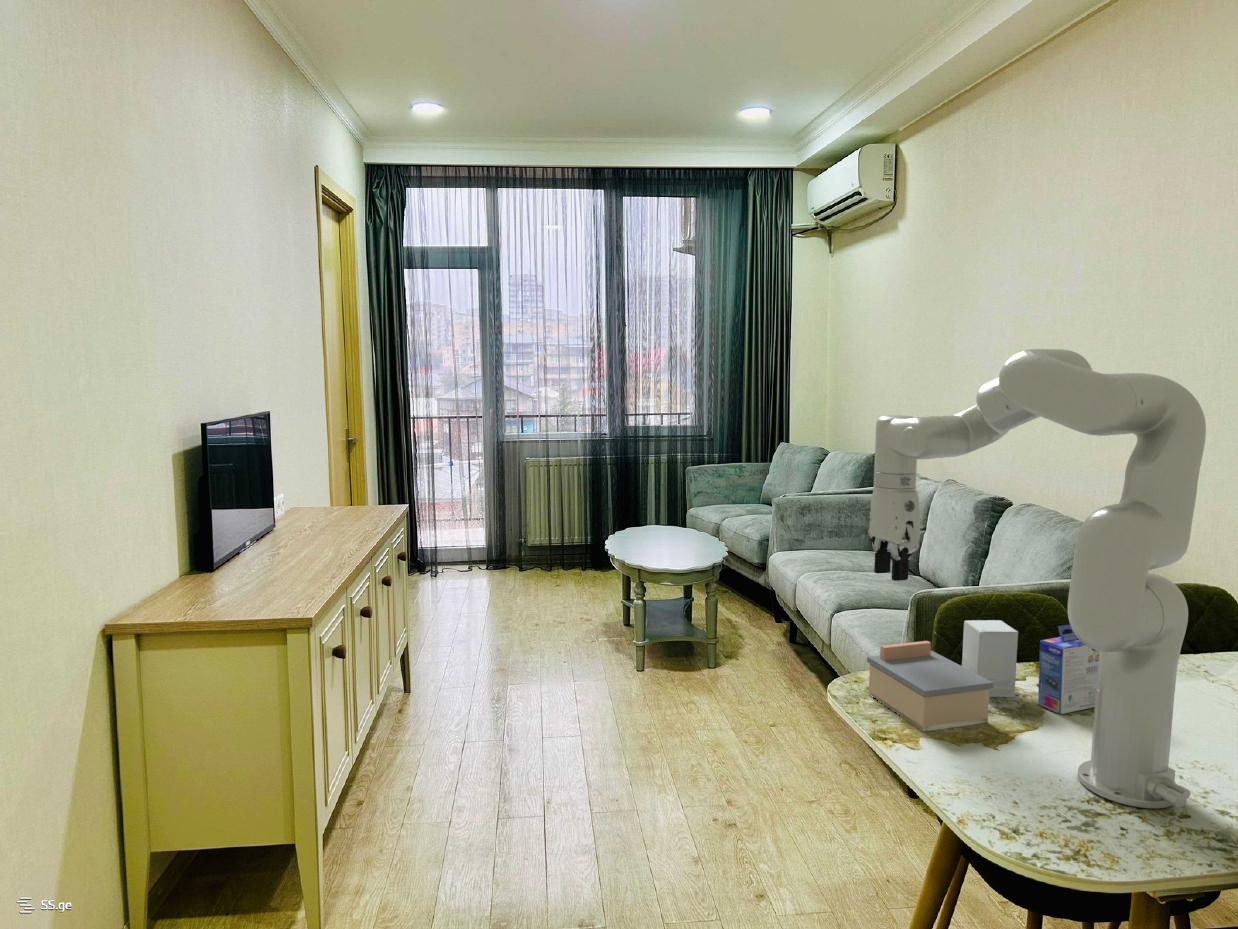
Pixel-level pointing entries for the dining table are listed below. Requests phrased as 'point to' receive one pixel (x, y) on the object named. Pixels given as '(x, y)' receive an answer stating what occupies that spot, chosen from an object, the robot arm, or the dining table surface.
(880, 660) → the lid
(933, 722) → the box
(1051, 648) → the ink cartridge box
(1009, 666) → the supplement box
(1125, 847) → the dining table surface
